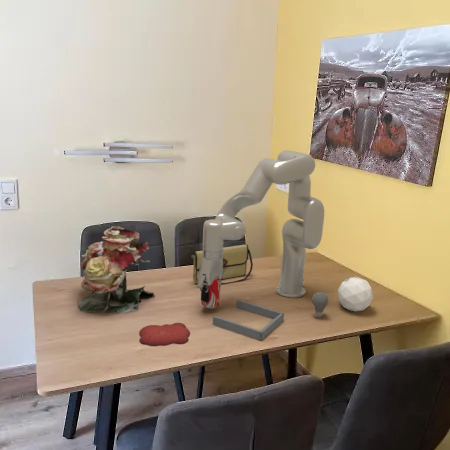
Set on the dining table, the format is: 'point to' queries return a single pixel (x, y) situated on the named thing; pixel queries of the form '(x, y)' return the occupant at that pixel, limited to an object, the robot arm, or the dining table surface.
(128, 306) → the rose bouquet
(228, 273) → the clutch purse
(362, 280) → the geodesic sphere
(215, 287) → the soda can
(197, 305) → the dining table surface
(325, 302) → the light bulb
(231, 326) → the grey u-shaped frame
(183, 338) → the patty
